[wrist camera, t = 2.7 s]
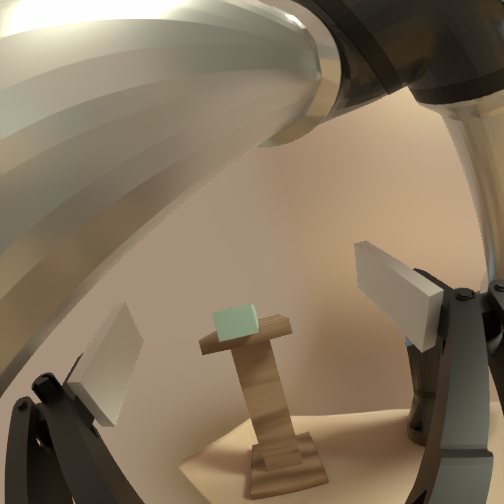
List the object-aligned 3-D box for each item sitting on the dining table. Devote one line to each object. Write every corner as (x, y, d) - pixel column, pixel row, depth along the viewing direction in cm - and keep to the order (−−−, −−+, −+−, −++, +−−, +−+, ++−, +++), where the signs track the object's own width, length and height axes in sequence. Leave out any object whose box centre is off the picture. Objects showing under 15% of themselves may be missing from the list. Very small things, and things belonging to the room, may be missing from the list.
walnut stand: (328, 482, 29) (288, 318, 35) (252, 499, 29) (198, 340, 34) (310, 437, 47) (278, 314, 52) (254, 450, 47) (218, 329, 52)
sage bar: (258, 332, 27) (250, 303, 27) (219, 341, 27) (212, 313, 27) (258, 321, 45) (253, 304, 46) (235, 327, 45) (230, 310, 46)
